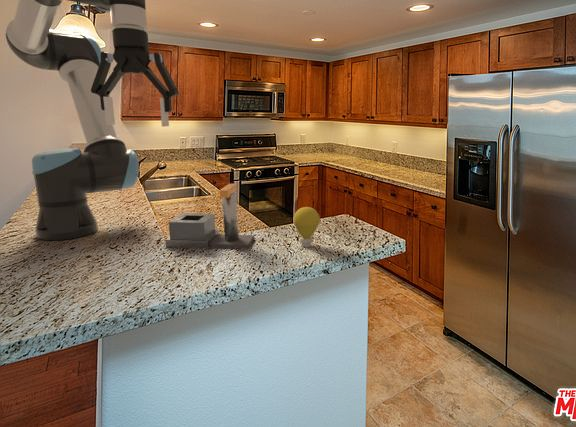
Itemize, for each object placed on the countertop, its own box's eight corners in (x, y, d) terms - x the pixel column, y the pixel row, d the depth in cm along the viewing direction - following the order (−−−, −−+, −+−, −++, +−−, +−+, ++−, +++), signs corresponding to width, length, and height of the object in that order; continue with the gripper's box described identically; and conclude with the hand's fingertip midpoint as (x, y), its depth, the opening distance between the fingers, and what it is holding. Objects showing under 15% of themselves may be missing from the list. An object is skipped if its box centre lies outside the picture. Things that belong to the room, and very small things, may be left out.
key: (234, 245, 90) (231, 190, 87) (220, 245, 91) (216, 190, 87) (242, 233, 99) (239, 183, 96) (229, 233, 99) (225, 183, 96)
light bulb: (303, 251, 89) (303, 211, 86) (288, 244, 94) (288, 206, 92) (324, 246, 92) (325, 208, 90) (309, 239, 98) (309, 203, 95)
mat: (208, 247, 92) (208, 243, 91) (217, 237, 99) (217, 234, 99) (248, 248, 91) (247, 245, 90) (254, 238, 98) (254, 235, 98)
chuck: (166, 247, 92) (163, 222, 90) (181, 235, 102) (179, 212, 100) (208, 248, 91) (207, 223, 89) (219, 236, 101) (218, 213, 99)
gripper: (189, 34, 86) (193, 126, 92) (86, 32, 87) (96, 123, 93) (178, 26, 79) (183, 127, 85) (66, 25, 80) (78, 124, 86)
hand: (138, 125), depth 89 cm, fingers open, 13 cm apart
